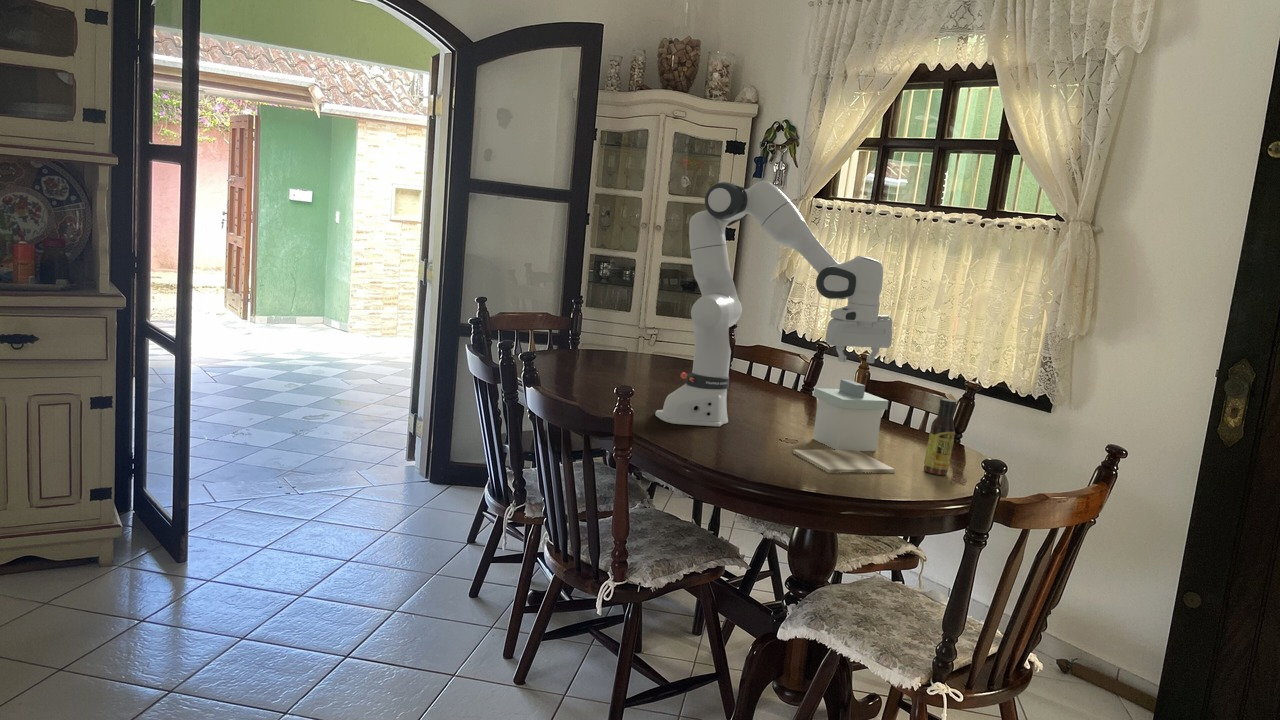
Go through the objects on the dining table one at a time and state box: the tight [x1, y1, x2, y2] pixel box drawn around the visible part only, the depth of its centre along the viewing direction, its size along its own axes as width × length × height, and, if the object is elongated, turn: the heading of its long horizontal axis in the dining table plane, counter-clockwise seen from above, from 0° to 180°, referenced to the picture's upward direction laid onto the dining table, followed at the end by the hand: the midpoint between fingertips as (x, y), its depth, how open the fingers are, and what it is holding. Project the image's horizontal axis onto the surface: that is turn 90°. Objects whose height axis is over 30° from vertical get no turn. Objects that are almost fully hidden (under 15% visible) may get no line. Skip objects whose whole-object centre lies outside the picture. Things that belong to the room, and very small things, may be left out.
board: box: [792, 449, 896, 474], centre depth 226 cm, size 20×18×1 cm
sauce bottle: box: [923, 398, 957, 476], centre depth 224 cm, size 6×6×20 cm
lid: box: [813, 379, 890, 410], centre depth 244 cm, size 15×15×6 cm
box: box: [812, 398, 883, 452], centre depth 246 cm, size 13×13×14 cm
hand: (856, 362), depth 243 cm, fingers open, 8 cm apart
